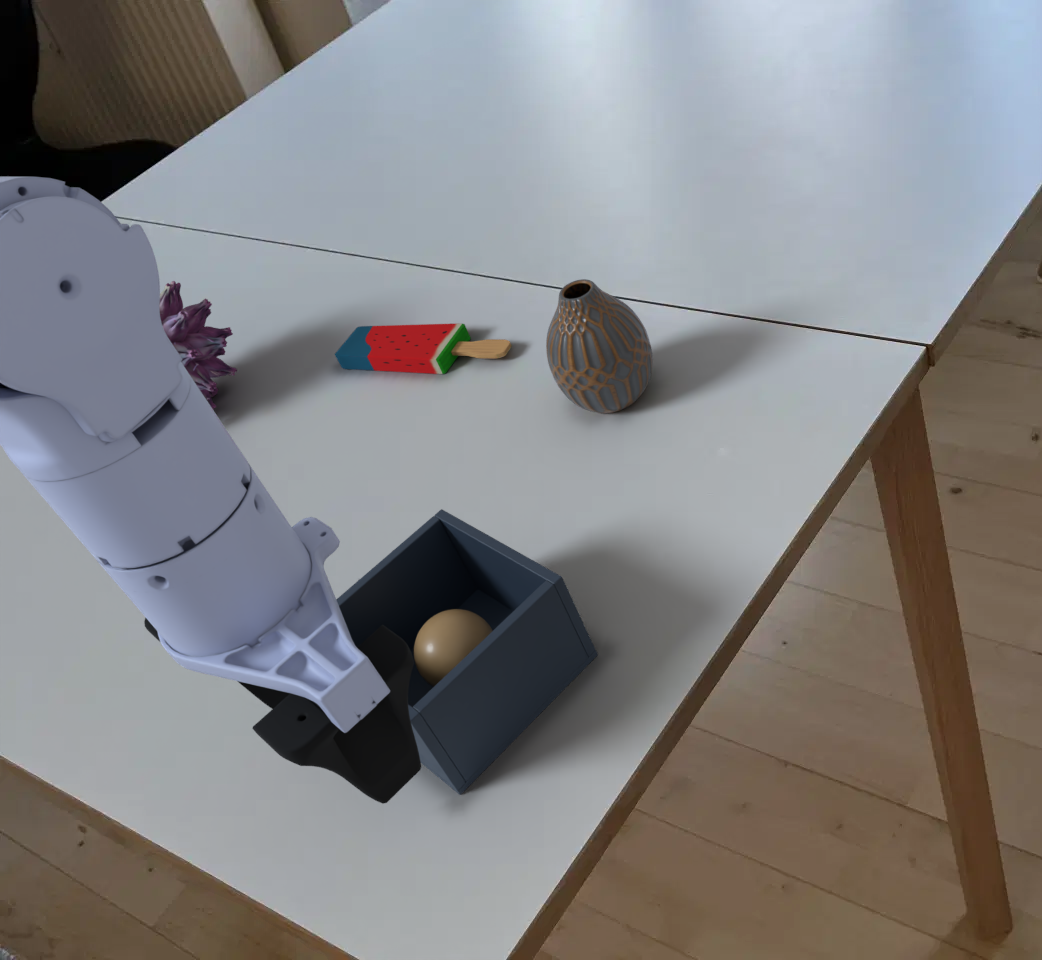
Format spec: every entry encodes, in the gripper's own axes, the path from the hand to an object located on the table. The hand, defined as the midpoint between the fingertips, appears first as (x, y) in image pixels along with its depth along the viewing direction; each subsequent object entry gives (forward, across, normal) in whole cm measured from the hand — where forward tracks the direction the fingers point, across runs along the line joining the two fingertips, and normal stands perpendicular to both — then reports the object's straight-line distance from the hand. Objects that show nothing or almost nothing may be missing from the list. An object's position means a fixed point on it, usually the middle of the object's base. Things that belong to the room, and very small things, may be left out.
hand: (346, 736), depth 46 cm
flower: (+11, +50, -13) cm, 53 cm away
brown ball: (+10, +7, -8) cm, 15 cm away
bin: (+10, +7, -8) cm, 15 cm away
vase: (+11, +17, -30) cm, 36 cm away
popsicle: (+11, +35, -27) cm, 45 cm away
